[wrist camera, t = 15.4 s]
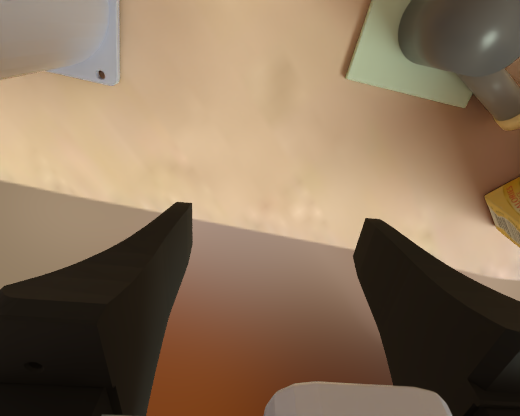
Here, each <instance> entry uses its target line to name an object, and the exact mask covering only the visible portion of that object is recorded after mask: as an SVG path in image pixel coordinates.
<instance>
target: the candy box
mask: <svg viewBox="0 0 520 416" xmlns="http://www.w3.org/2000/svg"><path fill="white" fill-rule="evenodd" d="M484 198H485V200H486V203H487V205H488V207H489V210H490V212H491V215H492V218H493V220H494V223H495V226H496V228H497V229H498V230H499V231H500V232H501V233H502V234H503V235H504V236H506V237H507V238H508V239H510V240H511V241H512V242H513V243H514V244H516V245H517V246H518V247H520V177H518V178H516V179H514V180H512V181H510V182H509V183H507V184H505V185H503V186H501V187H499V188H498V189H496V190H494V191H492V192H490V193H488V194H487V195H485V196H484Z"/></svg>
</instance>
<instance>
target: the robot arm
mask: <svg viewBox="0 0 520 416" xmlns="http://www.w3.org/2000/svg"><path fill="white" fill-rule="evenodd" d="M100 70H101V71H103V73H104V74H105V78H104V79H103V78H101V77H100V76H99V71H100ZM42 71H47V72H51V73H56V74H60V75H65V76H69V77H73V78H78V79H82V80H87V81H91V82H96V83H100V84H104V85H109V86H113V85H116V84H118V82H119V80H120V29H119V0H0V80H2V79H7V78H12V77H17V76H22V75H27V74H32V73H37V72H42ZM191 248H192V203H184V202H176V203H175V204H173V205H172V206H171V207H170V208H168V209H167V210H166V211H165V212H163V213H162V214H161V215H160V216H158V217H157V218H156V219H155V220H153V221H152V222H151V223H149V224H148V225H147V226H145V227H144V228H142V229H141V230H139V231H138V232H136V233H135V234H133V235H132V236H131V237H129V238H127V239H126V240H124V241H122V242H120V243H119V244H117V245H115V246H113V247H111V248H109V249H107V250H105V251H103V252H101V253H99V254H97V255H94V256H92V257H90V258H88V259H85V260H83V261H81V262H78V263H76V264H73V265H71V266H68V267H65V268H63V269H60V270H57V271H54V272H51V273H48V274H45V275H42V276H39V277H35V278H31V279H28V280H24V281H21V282H17V283H14V284H10V285H6V286H4V287H3V288H2V289H1V290H0V416H146V413H147V408H148V403H149V398H150V394H151V389H152V385H153V380H154V376H155V371H156V367H157V362H158V359H159V354H160V350H161V346H162V342H163V338H164V333H165V330H166V326H167V322H168V318H169V315H170V312H171V309H172V306H173V304H174V301H175V298H176V295H177V293H178V290H179V287H180V285H181V282H182V279H183V276H184V274H185V271H186V268H187V265H188V261H189V257H190V253H191ZM353 259H354V263H355V268H356V272H357V276H358V279H359V282H360V284H361V287H362V289H363V292H364V294H365V297H366V299H367V302H368V304H369V307H370V309H371V312H372V314H373V317H374V319H375V322H376V324H377V327H378V330H379V332H380V336H381V339H382V343H383V347H384V350H385V354H386V358H387V361H388V365H389V369H390V373H391V378H392V382H393V386H389V385H370V384H351V383H334V382H307V383H296V384H293V385H291V386H288V387H286V388H284V389H282V390H279V391H277V392H276V393H275V395H274V396H273V397H272V398H271V400H270V401H269V403H268V404H267V405H266V408H265V413H264V416H520V301H517V300H515V299H513V298H510V297H508V296H506V295H503V294H501V293H499V292H497V291H495V290H493V289H491V288H489V287H486V286H484V285H482V284H480V283H478V282H476V281H474V280H473V279H471V278H469V277H467V276H465V275H463V274H462V273H460V272H458V271H456V270H455V269H453V268H451V267H449V266H448V265H446V264H445V263H443V262H441V261H440V260H438V259H437V258H435V257H434V256H432V255H431V254H429V253H428V252H426V251H425V250H423V249H422V248H420V247H419V246H418V245H416V244H415V243H413V242H412V241H411V240H409V239H408V238H407V237H405V236H404V235H402V234H401V233H400V232H398V231H397V230H396V229H394V228H393V227H391V226H390V225H388V224H387V223H385V222H384V221H382V220H380V219H371V218H366V219H365V222H364V225H363V228H362V231H361V234H360V237H359V240H358V243H357V246H356V249H355V252H354V255H353Z"/></svg>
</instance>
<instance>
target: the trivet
mask: <svg viewBox="0 0 520 416" xmlns="http://www.w3.org/2000/svg"><path fill="white" fill-rule="evenodd" d="M410 2H411V0H371V3H370V6H369V9H368V12H367V15H366V18H365V21H364V24H363V27H362V30H361V33H360V36H359V39H358V42H357V45H356V47H355V50H354V53H353V56H352V59H351V62H350V65H349V68H348V71H347V74H346V77H345V78H346V79H349V80H353V81H357V82H361V83H365V84H369V85H373V86H377V87H381V88H385V89H389V90H393V91H397V92H401V93H405V94H409V95H413V96H417V97H421V98H425V99H429V100H433V101H437V102H441V103H445V104H449V105H453V106H457V107H461V108H465V107H466V105H467V103H468V101H469V100H470V98H471V96H472V94H473V93H472V92H471V90H470V89H469V88H468V87H467V86H466V85H465V84H464V82H463V81H462V80H461V79H460V78H459V77H458V75H457V74H456V73H453V72H449V71H444V70H440V69H436V68H431V67H427V66H423V65H418V64H415V63H413V62H411V61H409V60H408V59H407V58H406V57H405V56H404V55H403V53H402V51H401V49H400V46H399V42H398V29H399V24H400V20H401V18H402V15H403V13H404V11H405V9H406V7H407V6H408V4H409V3H410Z"/></svg>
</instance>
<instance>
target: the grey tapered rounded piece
mask: <svg viewBox="0 0 520 416" xmlns="http://www.w3.org/2000/svg"><path fill="white" fill-rule="evenodd" d="M398 42H399V46H400V49H401V51H402V53H403V55H404V56H405V57H406V58H407V59H408V60H409V61H411V62H413V63H415V64H418V65H423V66H427V67H431V68H436V69H440V70H444V71H449V72H453V73H456V74H457V75H458V77H459V78H460V79H461V80H462V81H463V82H464V84H465V85H466V86H467V87H468V88H469V89H470V90H471V92H472V93H473V94H474V95H475V96H476V97H477V99H478V100H479V101H480V102H481V103H482V104H483V105H484V107H485V108H486V109H487V110H488V111H489V112H490V113H491V115H492V116H493V118H494V120H495V121H496V123H497V124H498V125H499V126H500V127H501V128H502V129H503V130H506V131H511V130H516V129H519V128H520V87H519V86H518V85H517V83H516V82H515V81H514V80H513V78H512V77H511V76H510V74H509V73H508V72H507V71H506V69H505V68H506V67H507V66H509V65H510V64H511V63H513V62H514V61H515V60H516V59H517V58H519V57H520V0H411V2H410V3H409V4H408V6H407V7H406V9H405V11H404V13H403V15H402V18H401V20H400V24H399V29H398Z"/></svg>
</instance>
